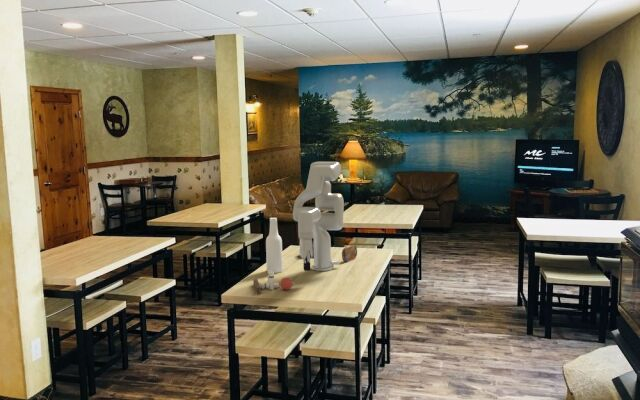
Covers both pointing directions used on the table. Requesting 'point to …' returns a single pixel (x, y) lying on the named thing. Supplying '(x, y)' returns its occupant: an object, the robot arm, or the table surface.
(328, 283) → the table surface
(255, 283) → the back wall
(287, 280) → the ball
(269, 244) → the alcohol
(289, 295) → the table surface
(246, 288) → the table surface
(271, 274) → the back pin left
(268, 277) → the back pin right
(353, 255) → the brown rock slab
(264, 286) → the front pin
